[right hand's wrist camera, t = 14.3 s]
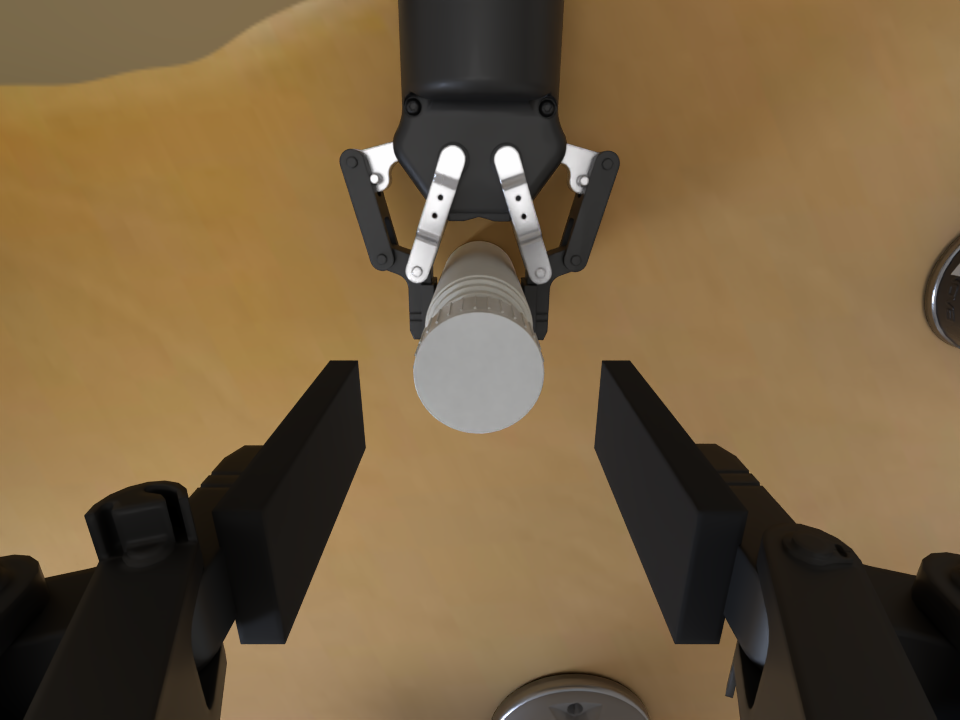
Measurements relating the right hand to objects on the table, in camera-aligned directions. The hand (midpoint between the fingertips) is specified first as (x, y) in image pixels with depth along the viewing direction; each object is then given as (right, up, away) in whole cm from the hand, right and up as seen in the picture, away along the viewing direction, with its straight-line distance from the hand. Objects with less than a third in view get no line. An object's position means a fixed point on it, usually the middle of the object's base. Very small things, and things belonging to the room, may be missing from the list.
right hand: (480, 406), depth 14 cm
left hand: (0, +2, +15) cm, 15 cm away
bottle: (0, +7, +20) cm, 21 cm away
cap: (0, +1, +3) cm, 3 cm away
